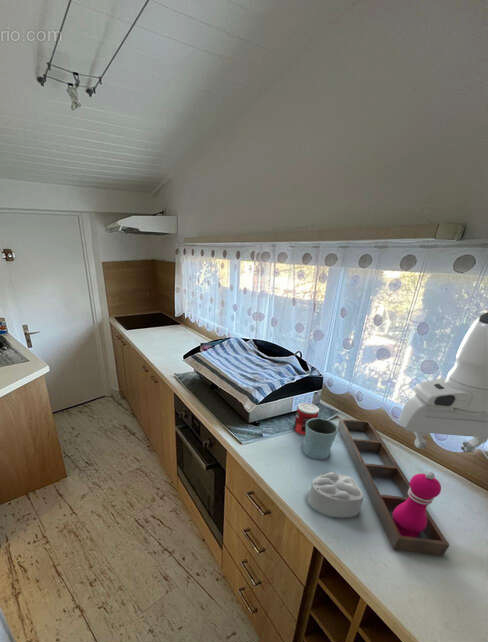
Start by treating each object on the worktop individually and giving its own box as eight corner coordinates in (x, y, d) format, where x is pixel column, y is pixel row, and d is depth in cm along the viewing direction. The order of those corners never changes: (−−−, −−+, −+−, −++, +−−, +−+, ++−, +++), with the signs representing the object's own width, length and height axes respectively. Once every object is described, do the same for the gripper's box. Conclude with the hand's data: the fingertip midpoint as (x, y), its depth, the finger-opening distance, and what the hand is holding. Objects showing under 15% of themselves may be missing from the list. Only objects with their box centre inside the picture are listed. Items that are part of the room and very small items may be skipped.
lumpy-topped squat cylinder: (361, 519, 84) (370, 496, 80) (314, 519, 84) (320, 496, 80) (345, 491, 93) (352, 469, 89) (302, 491, 93) (307, 469, 89)
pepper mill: (419, 526, 82) (448, 468, 72) (420, 547, 76) (452, 488, 67) (388, 515, 85) (412, 459, 76) (387, 534, 80) (413, 476, 70)
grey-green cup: (328, 447, 113) (335, 419, 107) (332, 464, 104) (340, 435, 98) (299, 443, 115) (305, 416, 109) (301, 460, 106) (307, 431, 101)
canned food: (300, 423, 127) (304, 400, 122) (318, 432, 121) (323, 408, 116) (289, 430, 123) (293, 406, 117) (307, 439, 117) (312, 415, 112)
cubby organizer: (366, 431, 121) (370, 421, 119) (441, 558, 74) (449, 545, 71) (337, 429, 123) (340, 418, 121) (391, 551, 75) (398, 538, 73)
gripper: (516, 390, 62) (486, 444, 69) (407, 383, 66) (387, 436, 72) (542, 405, 57) (506, 463, 64) (421, 397, 60) (399, 452, 67)
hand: (442, 448), depth 68 cm, fingers open, 8 cm apart
